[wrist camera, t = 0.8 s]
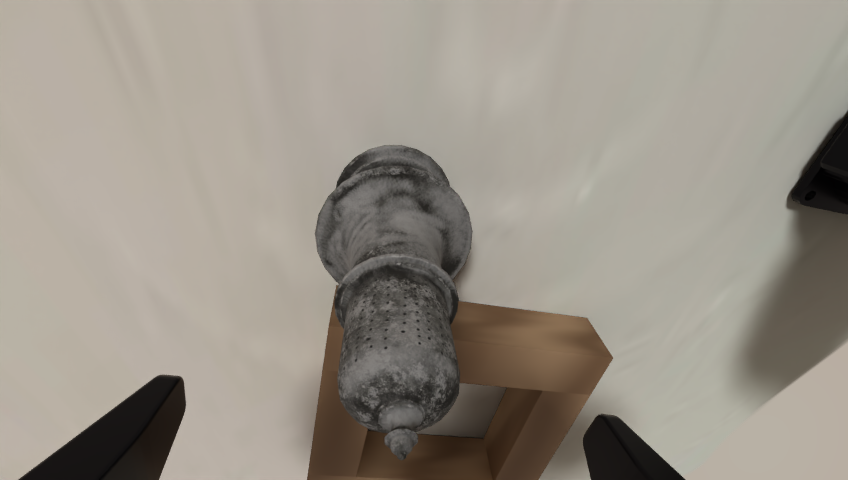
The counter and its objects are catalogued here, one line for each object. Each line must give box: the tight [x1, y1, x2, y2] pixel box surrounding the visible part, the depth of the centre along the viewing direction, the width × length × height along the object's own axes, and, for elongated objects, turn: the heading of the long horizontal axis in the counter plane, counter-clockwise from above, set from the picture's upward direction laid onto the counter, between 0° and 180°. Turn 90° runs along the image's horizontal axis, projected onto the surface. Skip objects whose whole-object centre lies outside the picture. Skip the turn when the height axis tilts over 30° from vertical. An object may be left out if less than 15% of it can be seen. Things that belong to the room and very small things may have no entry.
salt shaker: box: [315, 145, 472, 460], centre depth 13 cm, size 6×6×12 cm
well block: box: [307, 285, 613, 480], centre depth 23 cm, size 14×14×3 cm
